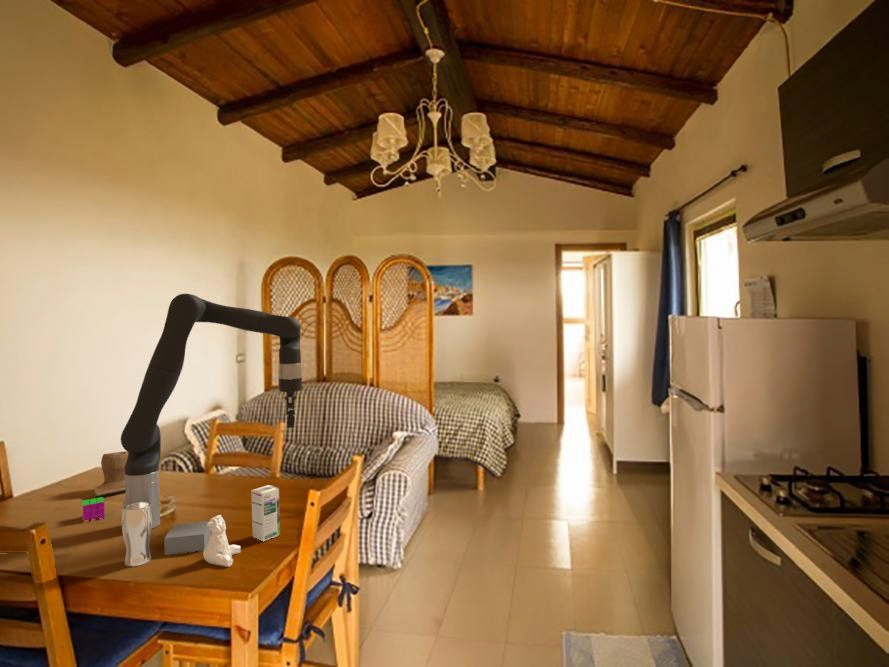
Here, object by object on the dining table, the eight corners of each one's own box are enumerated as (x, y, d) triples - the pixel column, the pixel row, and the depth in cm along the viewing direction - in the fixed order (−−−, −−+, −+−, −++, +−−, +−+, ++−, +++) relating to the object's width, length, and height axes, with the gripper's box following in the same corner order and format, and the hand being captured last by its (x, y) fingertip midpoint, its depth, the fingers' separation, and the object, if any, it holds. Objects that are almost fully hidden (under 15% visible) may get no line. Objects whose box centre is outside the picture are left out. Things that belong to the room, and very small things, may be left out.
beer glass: (131, 555, 140) (129, 501, 139) (157, 554, 140) (156, 500, 140) (117, 568, 133) (115, 511, 132) (145, 566, 133) (143, 510, 133)
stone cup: (131, 483, 203) (130, 446, 203) (142, 489, 195) (141, 450, 195) (86, 493, 192) (85, 453, 191) (96, 500, 184) (95, 459, 183)
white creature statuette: (230, 567, 133) (229, 522, 132) (196, 569, 132) (195, 523, 132) (242, 551, 142) (241, 508, 142) (210, 552, 141) (209, 510, 141)
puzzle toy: (103, 513, 171) (102, 496, 171) (104, 518, 167) (104, 501, 167) (82, 518, 168) (81, 500, 168) (83, 523, 163) (82, 505, 163)
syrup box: (263, 542, 148) (262, 492, 147) (251, 537, 151) (251, 488, 151) (280, 535, 152) (279, 487, 152) (268, 531, 156) (267, 483, 155)
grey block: (164, 556, 140) (164, 538, 140) (174, 541, 150) (173, 524, 150) (204, 551, 143) (203, 534, 143) (211, 537, 152) (210, 520, 152)
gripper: (279, 375, 176) (280, 421, 177) (277, 379, 163) (278, 430, 163) (301, 374, 179) (302, 420, 179) (301, 378, 165) (302, 428, 165)
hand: (291, 424), depth 171 cm, fingers open, 8 cm apart
